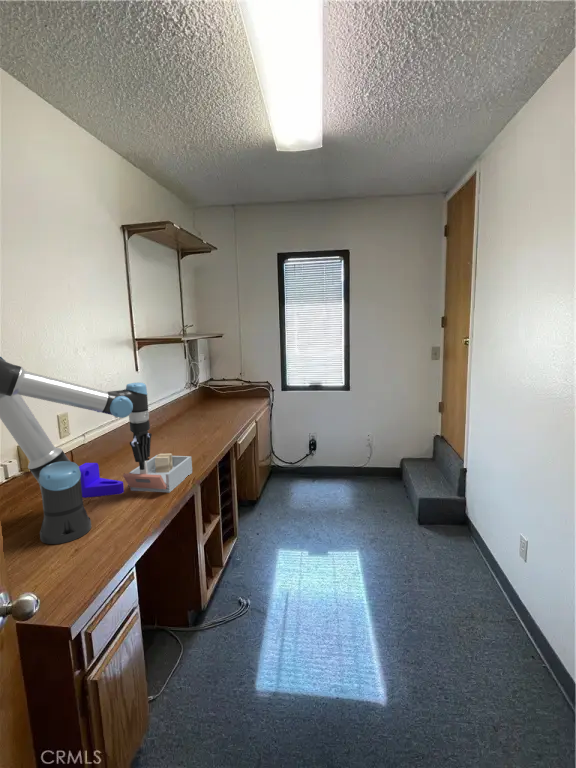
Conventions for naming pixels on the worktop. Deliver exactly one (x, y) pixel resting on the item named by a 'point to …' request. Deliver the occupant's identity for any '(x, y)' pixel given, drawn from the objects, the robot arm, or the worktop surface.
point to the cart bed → (168, 473)
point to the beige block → (163, 463)
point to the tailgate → (145, 481)
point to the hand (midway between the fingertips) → (144, 476)
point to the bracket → (97, 482)
